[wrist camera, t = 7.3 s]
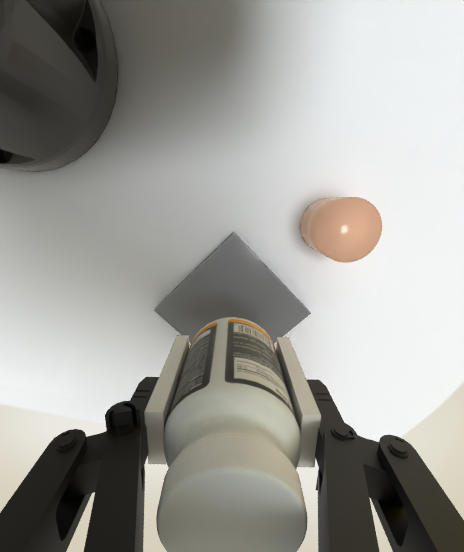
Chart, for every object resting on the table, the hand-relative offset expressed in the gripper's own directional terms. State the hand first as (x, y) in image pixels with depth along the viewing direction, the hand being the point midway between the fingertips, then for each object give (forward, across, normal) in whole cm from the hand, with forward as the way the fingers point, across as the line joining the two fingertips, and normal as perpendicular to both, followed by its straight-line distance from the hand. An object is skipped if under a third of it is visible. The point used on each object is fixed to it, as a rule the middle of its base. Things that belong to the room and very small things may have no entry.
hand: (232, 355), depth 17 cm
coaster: (+7, 0, 0) cm, 7 cm away
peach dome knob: (+7, +8, +8) cm, 13 cm away
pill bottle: (+1, 0, 0) cm, 1 cm away
